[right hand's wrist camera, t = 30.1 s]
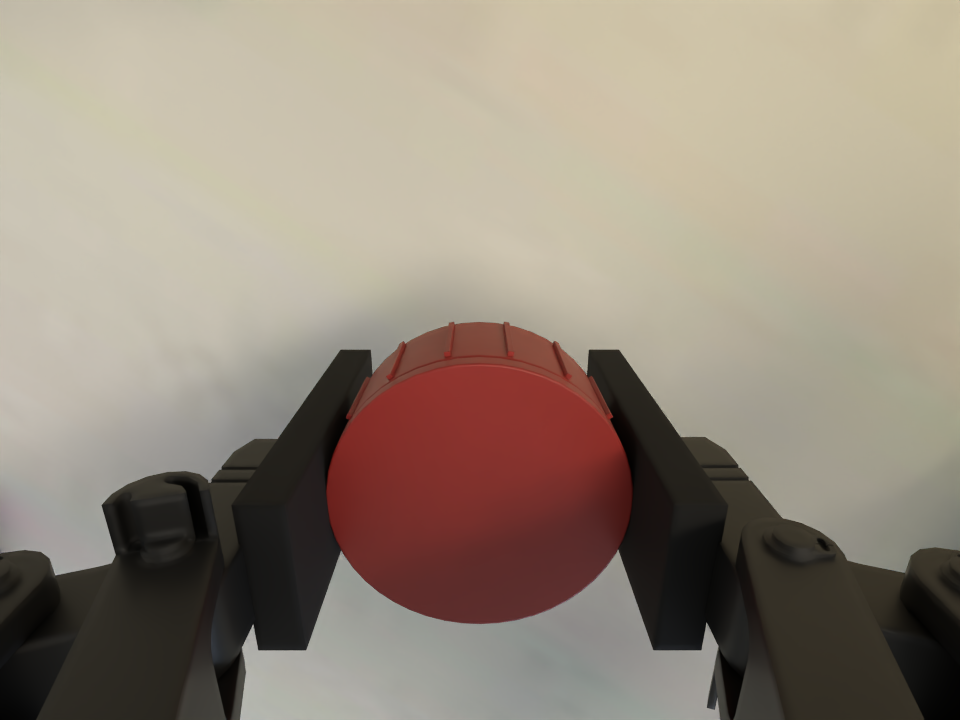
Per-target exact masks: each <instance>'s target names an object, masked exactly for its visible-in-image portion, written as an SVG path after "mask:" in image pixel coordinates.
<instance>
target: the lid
mask: <svg viewBox="0 0 960 720" xmlns="http://www.w3.org/2000/svg"><path fill="white" fill-rule="evenodd" d="M612 417H613V416H612V414H611V412H610V410H609V408H608V406H607V404H606V402H605V400H604V398H603V396H602V394H601V392H600V390H599V388H598V386H597V384H596V383H595V381H594V379H593V377H592V376H590V377H589V378H588V377H587V375H586V374H585V372H584V371H583V370H582V369H581V367H580V366H579V365H578V364H577V363H576V362H575V361H574V359H572V358H571V357H570V356H569V355H568V354H567V353H566V352H564V351H563V350H562V349H561V348H560V345H559V343H557V342H556V341H554V342H553V343H552V342H550V341H549V340H547V339H545V338H543V337H541V336H539V335H537V334H534V333H532V332H530V331H527V330H524V329H521V328H517V327H514V326H510V325H509V323H508V322H504V324H498V323H485V322H474V323H460V324H454V322H451V323H449V326H445V327H441V328H438V329H435V330H432V331H429V332H427V333H425V334H422V335H420V336H418V337H416V338H414V339H412V340H410V341H409V342H407V343H406V344H405V343H404V341H403V342H402V343H400V344H399V346H398V349H397V350H396V351H395V352H393V353H392V354H391V355H390V356H389V357H388V358H387V359H385V360H384V362H383V363H382V364H381V365H380V366H379V367H378V369H377V370H376V371H375V372H374V373H373V375H372V377H371V378H369V377H366V379H365V380H364V382H363V384H362V386H361V388H360V390H359V392H358V394H357V396H356V398H355V400H354V402H353V404H352V406H351V408H350V410H349V412H348V414H347V416H346V418H347V419H348V420H349V421H348V423H347V425H346V427H345V429H344V431H343V433H342V435H341V437H340V439H339V442H338V444H337V446H336V448H335V450H334V453H333V455H332V459H331V462H330V466H329V469H328V475H327V483H326V494H327V504H328V513H329V520H330V525H331V528H332V530H333V533H334V536H335V539H336V541H337V543H338V545H339V547H340V549H341V550H342V552H343V554H344V556H345V557H346V558H347V560H348V561H349V563H350V564H351V565H352V567H353V568H354V569H355V570H356V571H357V573H358V574H359V575H360V576H361V577H362V578H363V579H364V580H365V581H366V582H367V583H368V584H370V585H371V586H372V587H373V588H374V589H376V590H377V591H378V592H379V593H381V594H382V595H384V596H386V597H387V598H389V599H390V600H392V601H393V602H395V603H397V604H399V605H401V606H403V607H405V608H407V609H409V610H412V611H414V612H417V613H420V614H422V615H425V616H429V617H432V618H436V619H440V620H444V621H451V622H458V623H470V624H489V623H501V622H508V621H514V620H519V619H523V618H526V617H530V616H534V615H536V614H539V613H542V612H544V611H547V610H550V609H552V608H554V607H556V606H558V605H560V604H562V603H564V602H566V601H567V600H569V599H570V598H572V597H573V596H575V595H576V594H578V593H579V592H581V591H582V590H583V589H584V588H586V587H587V586H588V585H589V584H590V583H592V582H593V581H594V580H595V579H596V578H597V577H598V576H599V575H600V573H601V572H602V571H603V570H604V569H605V568H606V567H607V565H608V564H609V563H610V561H611V560H612V558H613V557H614V555H615V554H616V552H617V550H618V548H619V546H620V545H621V543H622V541H623V539H624V536H625V533H626V530H627V527H628V524H629V521H630V515H631V508H632V499H633V483H632V475H631V469H630V466H629V462H628V459H627V455H626V452H625V450H624V448H623V446H622V444H621V442H620V439H619V437H618V435H617V433H616V431H615V429H614V427H613V425H612V423H611V421H610V419H611V418H612Z"/></svg>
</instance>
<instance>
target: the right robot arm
mask: <svg viewBox="0 0 960 720" xmlns="http://www.w3.org/2000/svg"><path fill="white" fill-rule="evenodd" d="M372 375H373V374H372V361H371V350H340V352H339V353H338V354H337V356H336V357H335V359H334V360H333V361H332V363H331V364H330V366H329V367H328V369H327V370H326V371H325V373H324V374H323V376H322V377H321V378H320V380H319V381H318V383H317V384H316V386H315V387H314V388H313V390H312V391H311V393H310V394H309V395H308V397H307V398H306V400H305V401H304V403H303V404H302V405H301V407H300V408H299V410H298V411H297V412H296V414H295V415H294V417H293V418H292V420H291V421H290V422H289V424H288V425H287V427H286V428H285V430H284V431H283V432H282V434H281V435H280V437H279V438H278V439H254V440H253V441H251V442H249V443H248V444H246V445H244V446H243V447H241V448H240V449H238V450H236V451H235V452H234V453H233V454H232V455H231V456H230V458H229V459H228V460H227V461H226V462H225V464H224V465H223V466H222V470H219V471H218V472H217V473H216V475H215V476H214V477H213V478H212V479H211V480H212V481H211V483H208V480H207V479H205V478H204V477H203V476H201V475H200V474H196V473H191V472H187V471H182V472H166V473H161V474H157V475H152V476H148V477H145V478H143V479H140V480H137V481H135V482H132V483H130V484H128V485H126V486H124V487H123V488H121V489H119V490H118V491H116V492H115V493H113V494H112V495H111V496H110V497H109V498H108V499H107V500H106V501H105V502H104V503H103V504H102V508H103V512H104V515H105V519H106V522H107V526H108V529H109V533H110V536H111V540H112V543H113V547H114V550H115V554H116V556H115V558H114V560H113V562H112V563H111V564H108V565H104V566H100V567H95V568H90V569H85V570H81V571H76V572H71V573H66V574H61V575H56V576H55V573H54V571H53V568H52V565H51V562H50V559H49V558H48V557H47V556H45V555H44V554H43V553H41V552H36V551H28V550H22V551H15V552H8V553H1V554H0V720H240V714H241V706H242V698H243V690H244V682H245V674H246V670H245V662H244V657H243V652H242V646H243V644H244V642H245V640H246V638H247V636H248V634H249V632H250V629H251V627H252V625H253V624H254V629H255V635H256V640H257V645H258V650H306V649H307V646H308V644H309V641H310V638H311V635H312V632H313V629H314V626H315V623H316V621H317V618H318V615H319V612H320V609H321V606H322V603H323V601H324V598H325V595H326V592H327V589H328V586H329V583H330V580H331V578H332V575H333V572H334V569H335V566H336V563H337V560H338V558H339V555H340V552H341V549H340V547H339V545H338V543H337V541H336V539H335V536H334V533H333V530H332V528H331V525H330V520H329V513H328V504H327V494H326V483H327V475H328V469H329V466H330V462H331V459H332V455H333V453H334V450H335V448H336V446H337V444H338V442H339V439H340V437H341V435H342V433H343V431H344V429H345V427H346V425H347V423H348V421H349V420H348V419H347V418H346V416H347V414H348V412H349V410H350V408H351V406H352V404H353V402H354V400H355V398H356V396H357V394H358V392H359V390H360V388H361V386H362V384H363V382H364V380H365V379H366V377H369V378H371V377H372ZM590 376H592V377H593V379H594V381H595V383H596V384H597V386H598V388H599V390H600V392H601V394H602V396H603V398H604V400H605V402H606V404H607V406H608V408H609V410H610V412H611V414H612V416H613V417H612V418H611V419H610V421H611V423H612V425H613V427H614V429H615V431H616V433H617V435H618V437H619V439H620V442H621V444H622V446H623V448H624V450H625V452H626V455H627V459H628V462H629V466H630V469H631V475H632V483H633V499H632V508H631V515H630V521H629V524H628V527H627V530H626V533H625V536H624V539H623V541H622V543H621V545H620V546H619V548H618V550H619V553H620V556H621V558H622V561H623V564H624V567H625V570H626V573H627V576H628V579H629V581H630V584H631V587H632V590H633V593H634V596H635V599H636V602H637V604H638V607H639V610H640V613H641V616H642V619H643V622H644V624H645V627H646V630H647V633H648V636H649V639H650V642H651V645H652V647H653V650H701V649H702V644H703V638H704V633H705V628H706V622H707V623H708V625H709V627H710V629H711V632H712V634H713V636H714V638H715V640H716V642H717V644H718V646H719V647H718V652H717V657H716V662H715V667H714V671H713V676H712V681H711V686H710V691H709V697H708V704H707V708H710V709H714V710H715V706H716V701H717V697H718V705H719V713H720V720H960V551H958V550H950V549H943V548H927V549H919V550H918V551H917V552H916V553H914V554H913V555H912V556H911V557H910V560H909V563H908V566H907V569H906V572H905V573H901V572H896V571H892V570H887V569H882V568H877V567H872V566H867V565H862V564H858V563H854V562H850V561H847V559H846V557H845V555H844V554H843V552H842V551H841V550H840V548H839V547H838V546H837V545H836V543H835V542H834V541H832V540H831V539H829V538H828V537H827V536H825V535H824V534H822V533H821V532H820V531H818V530H815V529H813V528H811V527H809V526H806V525H804V524H802V523H799V522H795V521H791V520H787V519H783V518H782V517H781V516H780V515H779V514H778V513H777V511H776V510H775V509H774V508H773V506H772V505H771V504H770V503H769V502H768V500H767V499H766V498H765V497H764V496H763V494H762V493H761V492H760V491H759V490H758V488H757V487H756V486H755V485H754V484H753V482H752V481H749V479H748V478H749V477H748V476H747V475H746V474H745V473H744V471H743V470H742V469H741V468H738V464H737V463H736V462H735V461H734V459H733V458H732V457H731V456H730V454H729V453H728V452H727V451H726V450H725V449H723V448H722V447H720V446H718V445H717V444H715V443H714V442H712V441H710V440H709V439H707V438H706V437H680V436H679V434H678V433H677V431H676V430H675V429H674V427H673V426H672V424H671V423H670V422H669V420H668V419H667V417H666V416H665V414H664V413H663V412H662V410H661V409H660V407H659V406H658V405H657V403H656V402H655V400H654V399H653V397H652V396H651V395H650V393H649V392H648V390H647V389H646V387H645V386H644V385H643V383H642V382H641V380H640V379H639V378H638V376H637V375H636V373H635V372H634V370H633V369H632V368H631V366H630V365H629V363H628V362H627V361H626V359H625V358H624V356H623V355H622V353H621V352H620V351H619V350H589V356H588V370H587V377H588V378H589V377H590Z"/></svg>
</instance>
